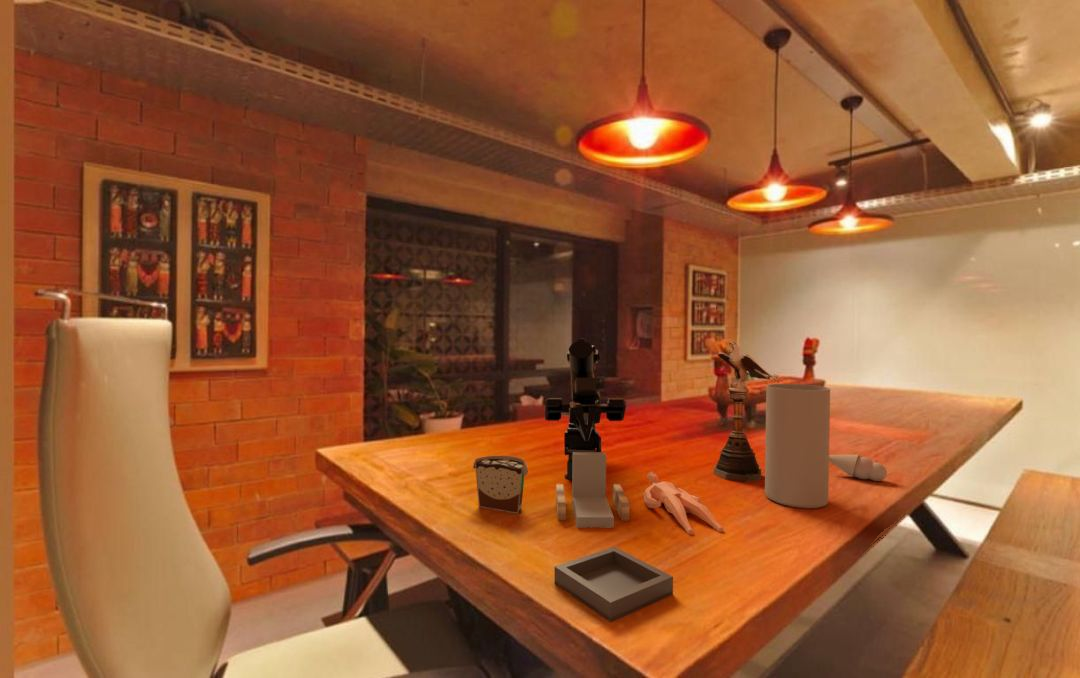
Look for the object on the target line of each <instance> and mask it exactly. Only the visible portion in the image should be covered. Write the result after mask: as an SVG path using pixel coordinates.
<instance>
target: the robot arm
mask: <svg viewBox="0 0 1080 678" xmlns="http://www.w3.org/2000/svg"><path fill="white" fill-rule="evenodd" d="M566 359H567V363H568V364H569V368H570V385H571V387H570V388H571V398H570V399H571V401H570V402H569V404H563V398H561V397H559V398H558V397H557V398H556V397H549V398H548V397H547V398H546V399H545V400H544V420H545V421H547V422H548V421H549V422H553V421H554V422H559V421H560V420H561V419H562V414H563V415H564V414H565V415H566V414H567V415H568V417H569V418H568V422H569V423H568V425H567V428H566V429H567V430H564V438H563V439H564V440H563V442H564V456H567V457H568V460H567V461H566V474H564V478H566V479H569V480H572V459H573V452H602V437H601V435H600V434H599V431H597V426H596V425H597V424H600V422H601V416H602V414H605V416H606V419H607V420H608V421H609V422H622V421H624V419H625V415H626V414H625V413H626V408H627V404H626V401H625V400H624V398H610V397H609V398H607V401H606V403H601V392H604V391H605V390H606V382H605V376H604V375H601V376H600V375H597V376H595V374H594V370H596V364H599V361H600V359H601V354H600V352H599V349H596V345H592V344H591V343H589V342H587V340H586V338H584V337H583V338H577V341H575V342H573V343H571V344H570V346H569V348H568V351H567V353H566Z"/></svg>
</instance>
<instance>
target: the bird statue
mask: <svg viewBox="0 0 1080 678" xmlns="http://www.w3.org/2000/svg"><path fill="white" fill-rule="evenodd" d="M728 346H730V347H729V348H728V351H726V353H724V352H719V353H718V354H717V357H719V358H720V359H722V361H724V362H725V363H726V364H728V366H730V367H731V368H732V369H733V370H734V376H735V378H734V379H733V380H732V381H730V387H728V388H727V391H728V392H729V394H728V398H729V399H730V400H733V402H732V403H733V415H732V416H731V418H732V419H733V430H731V432H730V433H729V434H728V438H727V440H726V442H725V445H724V446H723V447H722V449H721V451H720V452H719V454H720V455H719V458H718V461H717V463H716V464H715V465H714V466H713V475H715V476H717V477H720V478H722V479H725V480H728V481H736V482H742V483H743V482H744V483H745V482H754V481H761V478H762V469H761V468H760V465H759V464H758V461H757V458H756V452H754V449H752V447H751V444H750V443H749V440H748V435H747V434H746V433H745V432H744V431H743V428H744V427H743V421H744V418H745V416H744V410H743V409H744V405H743V403H744V401H746V400H748V393H749V391H750V390H749V388H747V384H746V378H747V375H749V377H750V378H751V379H752V378H755V379H759V380H761V379H762V380H770V379H771V378H772V379H773V380H774V381H775V382H777V384H780V381H779V380H778V377H779V375H778V374H775V373H769V372H768V371H767V370H765V369H764V368H763V367H762V366H761V364H759V363H758V362H757V361H756V360H755V359H754V358H753V357H751V356H750V355H749V354H742V356H741V355H740V347H739V345H738V344H737V343H736V342H734V341H729V342H728ZM731 348H732V351H731Z"/></svg>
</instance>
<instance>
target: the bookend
mask: <svg viewBox="0 0 1080 678" xmlns="http://www.w3.org/2000/svg"><path fill="white" fill-rule="evenodd" d="M571 482H572V483H571V484H572V486H571V487H572V492H571V493H572V494H571V495H572V496H571V500H572V501H571V504H572V507H573V514H574V520H575V526H576V528H577V529H578V528H582V529H583V528H585V529H588V528H587V527H590V528H591V529H592V527H600V528H601V529H608V528H609V529H614V528H615V516H614V514H613V512H612V508H611V506H610V504H609V501H608V499H607V454H606V452H603V451H601V452H573V459H572V481H571ZM590 528H589V529H590ZM600 528H599V529H600Z"/></svg>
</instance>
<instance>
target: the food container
mask: <svg viewBox="0 0 1080 678" xmlns="http://www.w3.org/2000/svg"><path fill="white" fill-rule="evenodd" d="M472 469H475V477H476V489H477V490H476V491H477V499H478V500H477V501H478V507H479V508H483V509H488V510H493V511H498V512H504V511H505V513H511V514H516V515H519V514H520V513H521V512H522V507H523V506H522V505H523V498H524V497H523V495H524V485H525V476H527V475H528V474H529V470H528V465H527V463H526V460H525V459H523V458H521V457H518V456H512V455H488V456H487V455H486V456H481V457H478V458H475V459H474V462H473V466H472Z"/></svg>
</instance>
